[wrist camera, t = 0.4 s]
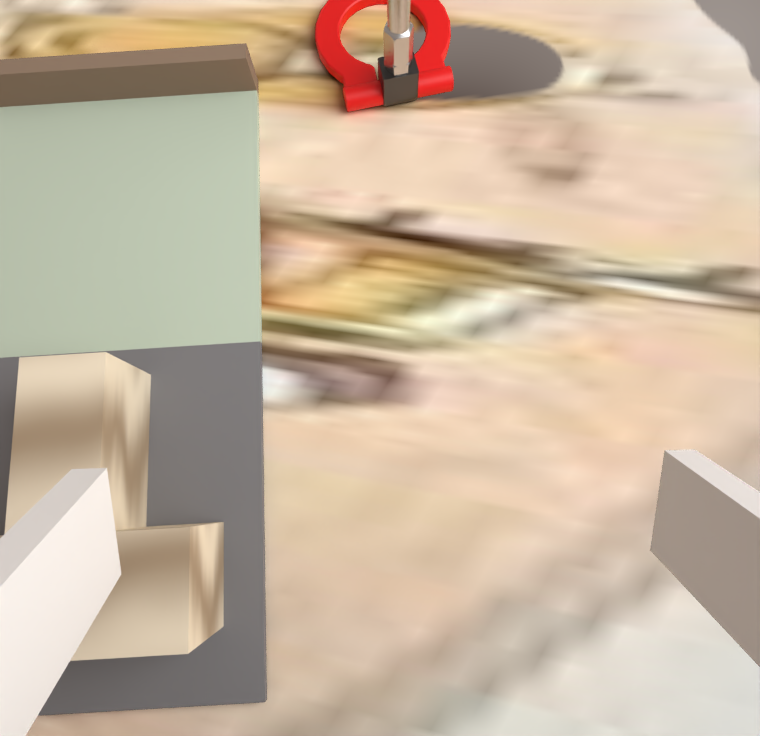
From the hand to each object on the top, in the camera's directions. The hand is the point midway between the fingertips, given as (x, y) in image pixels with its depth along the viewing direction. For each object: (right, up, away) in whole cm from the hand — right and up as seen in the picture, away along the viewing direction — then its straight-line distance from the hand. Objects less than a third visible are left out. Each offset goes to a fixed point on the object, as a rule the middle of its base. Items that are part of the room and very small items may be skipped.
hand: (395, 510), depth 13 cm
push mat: (-15, +4, +18) cm, 24 cm away
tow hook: (0, +24, +23) cm, 33 cm away
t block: (-14, -3, +16) cm, 22 cm away
